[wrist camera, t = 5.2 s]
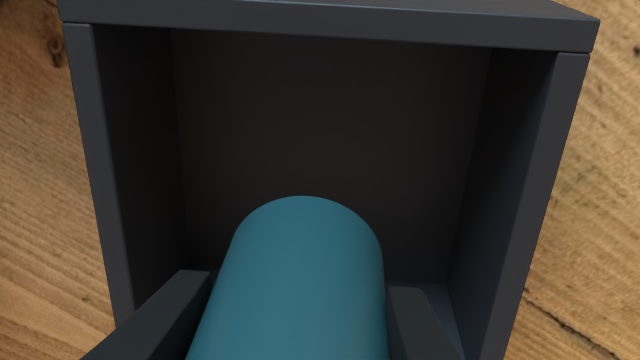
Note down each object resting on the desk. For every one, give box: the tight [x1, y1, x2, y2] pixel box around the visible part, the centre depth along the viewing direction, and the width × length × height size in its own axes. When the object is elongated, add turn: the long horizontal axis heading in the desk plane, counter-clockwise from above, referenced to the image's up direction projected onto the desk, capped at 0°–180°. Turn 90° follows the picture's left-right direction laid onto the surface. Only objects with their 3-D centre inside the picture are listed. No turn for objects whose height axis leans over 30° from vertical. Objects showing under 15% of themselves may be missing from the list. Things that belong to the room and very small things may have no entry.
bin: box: [57, 0, 600, 360], centre depth 16 cm, size 11×11×6 cm
